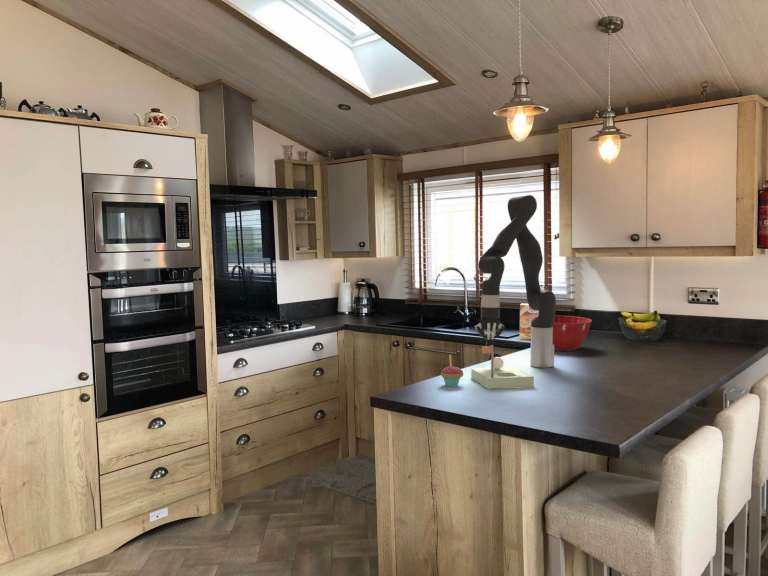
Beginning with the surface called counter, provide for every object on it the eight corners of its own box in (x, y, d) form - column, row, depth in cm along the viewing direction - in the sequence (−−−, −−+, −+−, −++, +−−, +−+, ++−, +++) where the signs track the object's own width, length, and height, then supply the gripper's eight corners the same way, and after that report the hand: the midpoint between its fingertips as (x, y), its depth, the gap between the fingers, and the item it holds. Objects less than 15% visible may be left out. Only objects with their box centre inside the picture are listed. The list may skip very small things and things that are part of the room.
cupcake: (436, 383, 240) (437, 352, 239) (456, 381, 243) (457, 351, 242) (447, 388, 232) (447, 356, 231) (467, 386, 235) (467, 354, 234)
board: (513, 376, 253) (514, 337, 251) (533, 387, 234) (534, 344, 233) (466, 378, 249) (466, 338, 248) (482, 389, 230) (483, 346, 229)
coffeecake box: (519, 339, 350) (519, 304, 348) (520, 337, 356) (520, 303, 355) (546, 340, 345) (547, 305, 344) (547, 338, 352) (548, 304, 351)
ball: (500, 368, 249) (500, 355, 249) (505, 370, 244) (505, 357, 244) (488, 368, 248) (488, 356, 248) (493, 371, 243) (493, 358, 243)
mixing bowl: (598, 354, 303) (599, 322, 302) (539, 353, 304) (540, 322, 303) (581, 344, 331) (582, 315, 330) (527, 344, 332) (527, 315, 331)
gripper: (502, 304, 257) (501, 346, 258) (471, 305, 255) (470, 347, 256) (509, 306, 250) (508, 349, 251) (477, 306, 248) (476, 350, 249)
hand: (489, 348), depth 254 cm, fingers closed
